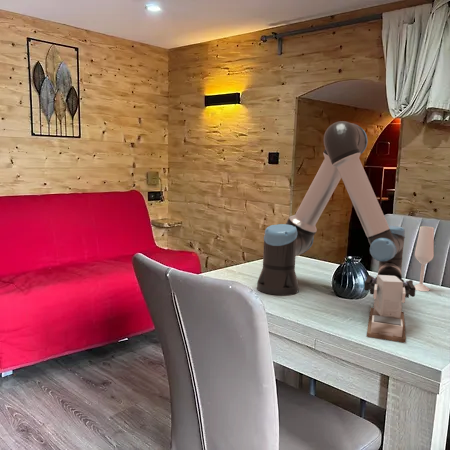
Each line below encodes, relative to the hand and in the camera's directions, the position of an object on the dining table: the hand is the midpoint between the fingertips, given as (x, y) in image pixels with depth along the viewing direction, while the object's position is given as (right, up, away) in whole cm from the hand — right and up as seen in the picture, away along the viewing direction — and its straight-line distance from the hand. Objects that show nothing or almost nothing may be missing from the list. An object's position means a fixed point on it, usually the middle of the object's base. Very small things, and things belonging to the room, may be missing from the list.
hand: (389, 296), depth 127 cm
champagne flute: (+29, -5, +47) cm, 55 cm away
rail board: (+1, -9, +6) cm, 11 cm away
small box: (+1, -6, +6) cm, 8 cm away
